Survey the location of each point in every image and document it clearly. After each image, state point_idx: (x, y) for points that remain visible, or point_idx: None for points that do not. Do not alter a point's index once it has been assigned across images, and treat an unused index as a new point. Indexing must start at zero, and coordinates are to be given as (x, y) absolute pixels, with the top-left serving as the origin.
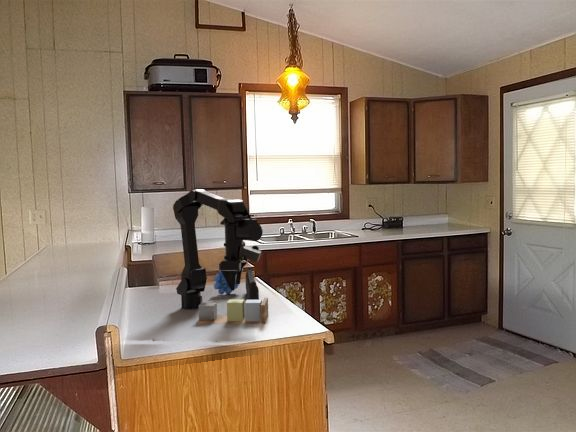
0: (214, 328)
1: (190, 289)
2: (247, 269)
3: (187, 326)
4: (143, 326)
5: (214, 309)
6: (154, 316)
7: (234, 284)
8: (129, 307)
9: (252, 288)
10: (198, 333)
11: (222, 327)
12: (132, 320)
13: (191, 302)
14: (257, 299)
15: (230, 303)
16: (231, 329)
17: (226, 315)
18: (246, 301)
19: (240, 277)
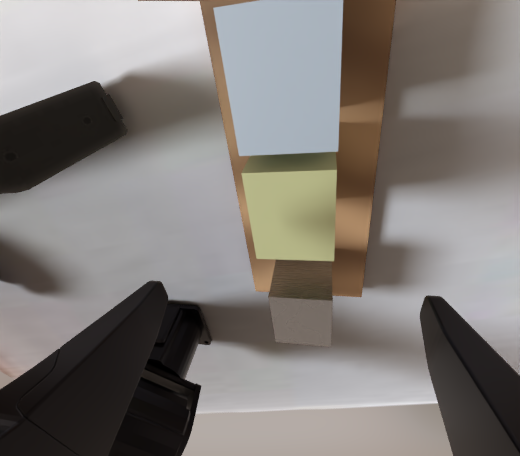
0: (392, 228)
1: (187, 400)
2: None
3: (357, 308)
4: (352, 385)
5: (321, 283)
6: (262, 376)
7: (499, 357)
8: (205, 411)
9: (3, 172)
10: (454, 268)
11: (380, 201)
12: (301, 402)
13: (189, 346)
14: (53, 109)
15: (334, 239)
16: (420, 154)
17: (244, 218)
18: (295, 145)
19: (120, 325)
